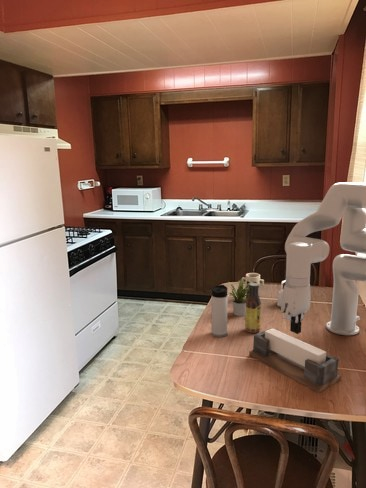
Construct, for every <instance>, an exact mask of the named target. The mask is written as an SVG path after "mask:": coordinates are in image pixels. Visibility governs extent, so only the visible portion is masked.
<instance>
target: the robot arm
mask: <svg viewBox="0 0 366 488" xmlns="http://www.w3.org/2000/svg"><path fill="white" fill-rule="evenodd" d="M365 209H366V182H351V181H350V182H347V181H346V182H336V183H334V184H332V185H331V186H330V187H329V189H327V192H326V194H325V196H324V198H323V199H322V201H321V203H320V205H319V207H318V209H317V210H316V211H315V212H313V213H311V214H309V215H307V216H306V217H304V218H302V219H301V220H300V221H298V222H296V224H295V225H294V226H293V227H292V229H291V231H290V233H289V234H288V236H287V239H286V241H285V243H284V250H285V251H284V252H285V253H286V261H285V262H286V266H285V268H286V270H285V280H286V285H284V289H283V294H282V302H281V307H280V312H281V313H282V314H284V319H285V320H286V321H289V322H290V324H289V326H290V328H289V329H290V330H289V331H290V332H291V333H294V334H296V335H299V334H300V333H302V322H303V320H304V315H305V314H306V313H307V312H308V311H309V310H310V308H311V302H312V301H311V300H312V298H311V296H312V295H311V294H312V293H311V268H312V267H311V265H312V264H314V263H321V262H323V261H325V260H326V259H327V258H328V256H329V254H330V249H331V248H330V245H329V243H328V242H327V241H325V240H323V239H320V238H313V237H307V236H309V235H310V234H312V233H315V232H319V231H324V230H329V229H332V228H334V227H336V226H338V225H339V224H340V222H341V220H342V223H341V230H340V231H341V232H340V241H339V244H340V247H341V249H342V250H343V251H347V252H351V253H358V254H364V255H366V210H365ZM332 274H333V287H332V288H333V289H332V301H331V314H330V321H327V322H326V329H327V330H328V331H329V332H331V333H334V334H336V335H342V336H355V335H357V334H359V333H360V327H359V326H358V325H357V324H356V323H357V322H358V321H360V320H361V316H360V315H357V312H358V304H359V303H358V301H359V294H360V293H359V292H360V289H359V285H358V283H357V282H360V283H366V257H363V256H360V255H354V254H348V253H345V254H344V253H342V254H341V253H340V254H338V255H336V256H335V257H334V259H333V261H332ZM356 281H357V282H356Z"/></svg>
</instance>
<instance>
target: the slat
mask: <svg viewBox="0 0 366 488" xmlns="http://www.w3.org/2000/svg"><path fill="white" fill-rule="evenodd" d="M266 330H267V331H266ZM266 330H264V331H265V338H266V339H268V340H269V349H270V350H272V351H274V352H276V353H278V354H280V355H282V356H284V357H286V358H288V359H290V360H292V361H294V362H296V363H298V364H300V365H302V366H304V367H305V360H307V359H310V360H312V361H314V362H316V363H318V364H320V365H321V364H323V363H325V362H326V354H327V351H325V350H323V349H321V348H319V347H316V346H314V345H312V344H309V343H307V342H304V341H302V340H300V339H298V338H296V337H293V336H292V335H289V334H286V333H284V332H283V331H280V330H277V329H275V328H269V330H268V329H266Z"/></svg>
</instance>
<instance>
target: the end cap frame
mask: <svg viewBox="0 0 366 488" xmlns="http://www.w3.org/2000/svg"><path fill="white" fill-rule="evenodd" d="M269 329H270V328H269ZM269 329H266V330H264V331H261V332H257V333H255V334H254V335H253V344H252V345H253V349H251V350H249V351H248V353H249V354H248V356H250V357H252V358H253V359H255V360H257V361H259V362H261V363H263V364H265V365H267V366H268V367H270V368H272V369H274V370H276V371H278V372H280V373H282V374H283V375H285V376H287V377H289V378H290V379H292V380H295V381H296V382H298V383H300V384H302V385H303V386H305V387H307V388H309V389H310V390H312V391H315V392H316V393H318V394H319V393H321V392H323V391H325V390H326V389H327V388H329V387H331V386H333V385H334V384H336V383H338V382H339V381H341V380H342V375H341V374H340V373H339V372H338V371H339V361H340V359H339V358H337V357H334V356H332V355H331V354H328V353H326V362H325V363H323V364H321V365H320V364H318V363H316V362H314V361H312V360H310V359H307V360H305V367H304V366H302V365H300V364H298V363H296V362H294V361H292V360H290V359H288V358H286V357H284V356H282V355H280V354H278V353H276V352H274V351H272V350H270V349H269V340H268V339H266V338H265V331H267V330H269Z"/></svg>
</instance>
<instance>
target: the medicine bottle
mask: <svg viewBox="0 0 366 488" xmlns="http://www.w3.org/2000/svg"><path fill="white" fill-rule="evenodd" d="M280 284H281V285H280V290H279V291H277V307H280V308H281V302H282V294H283V289H284V285H286V279H285V280H282V281H281V283H280Z"/></svg>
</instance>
